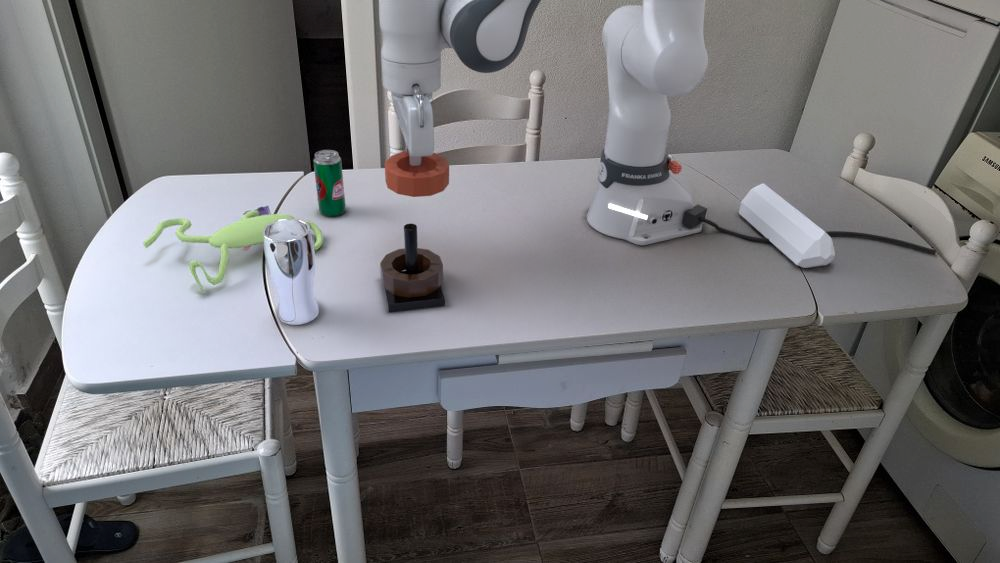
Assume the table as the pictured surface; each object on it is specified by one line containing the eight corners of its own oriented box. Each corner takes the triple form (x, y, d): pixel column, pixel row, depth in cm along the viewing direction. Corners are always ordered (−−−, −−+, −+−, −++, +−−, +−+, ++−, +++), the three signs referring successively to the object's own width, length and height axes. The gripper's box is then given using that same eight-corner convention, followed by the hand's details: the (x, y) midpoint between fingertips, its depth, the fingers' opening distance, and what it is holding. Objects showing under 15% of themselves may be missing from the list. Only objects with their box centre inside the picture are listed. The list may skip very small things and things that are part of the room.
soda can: (340, 219, 131) (334, 161, 124) (315, 216, 132) (307, 158, 125) (350, 207, 135) (344, 150, 128) (325, 204, 136) (319, 147, 129)
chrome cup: (280, 300, 109) (266, 217, 100) (324, 299, 109) (314, 217, 101) (271, 327, 103) (256, 242, 95) (318, 326, 104) (307, 242, 95)
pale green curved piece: (141, 254, 118) (132, 225, 115) (283, 208, 133) (279, 182, 130) (184, 303, 107) (176, 273, 104) (333, 247, 123) (330, 219, 119)
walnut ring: (435, 260, 118) (434, 244, 116) (448, 292, 110) (448, 276, 108) (377, 267, 115) (376, 251, 113) (387, 301, 107) (386, 284, 106)
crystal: (854, 251, 122) (776, 190, 141) (831, 236, 118) (754, 176, 137) (825, 283, 124) (753, 219, 143) (801, 270, 121) (730, 206, 140)
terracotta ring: (441, 167, 114) (441, 149, 113) (453, 194, 107) (454, 175, 105) (382, 170, 112) (381, 152, 110) (390, 198, 104) (389, 179, 102)
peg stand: (435, 275, 117) (434, 210, 110) (445, 305, 110) (444, 238, 102) (381, 280, 115) (377, 215, 108) (388, 312, 107) (384, 244, 100)
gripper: (444, 97, 96) (444, 186, 104) (421, 54, 112) (423, 134, 120) (399, 99, 94) (402, 189, 102) (383, 55, 111) (386, 136, 118)
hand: (413, 159), depth 111 cm, fingers closed on terracotta ring, 2 cm apart
